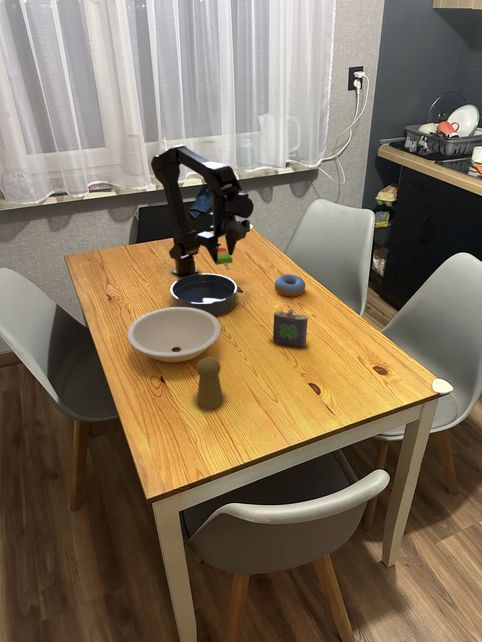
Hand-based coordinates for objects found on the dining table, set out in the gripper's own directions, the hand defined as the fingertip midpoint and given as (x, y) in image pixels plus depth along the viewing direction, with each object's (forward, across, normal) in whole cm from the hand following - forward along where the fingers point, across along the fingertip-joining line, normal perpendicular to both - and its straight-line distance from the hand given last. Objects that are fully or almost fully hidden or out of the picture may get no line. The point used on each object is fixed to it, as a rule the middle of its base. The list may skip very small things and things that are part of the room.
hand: (223, 258), depth 156 cm
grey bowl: (+11, -34, -13) cm, 38 cm away
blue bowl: (+11, -10, -1) cm, 15 cm away
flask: (+11, -13, -35) cm, 39 cm away
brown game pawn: (+11, -44, -34) cm, 57 cm away
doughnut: (+11, +12, -17) cm, 24 cm away
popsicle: (+1, 0, 0) cm, 1 cm away
